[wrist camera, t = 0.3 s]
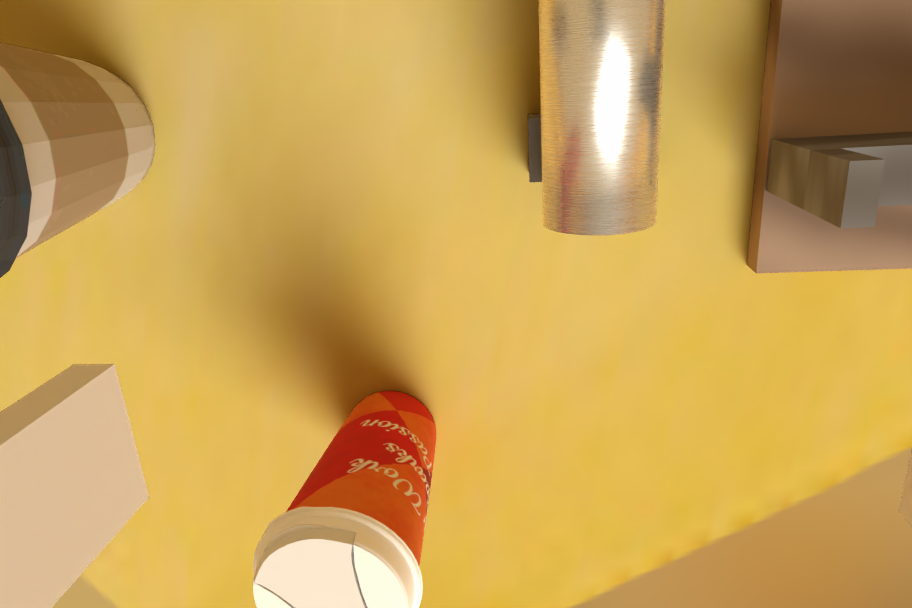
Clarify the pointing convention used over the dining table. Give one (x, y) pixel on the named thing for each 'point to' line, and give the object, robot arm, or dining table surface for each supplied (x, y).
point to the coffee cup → (63, 145)
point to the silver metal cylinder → (600, 113)
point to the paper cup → (356, 516)
